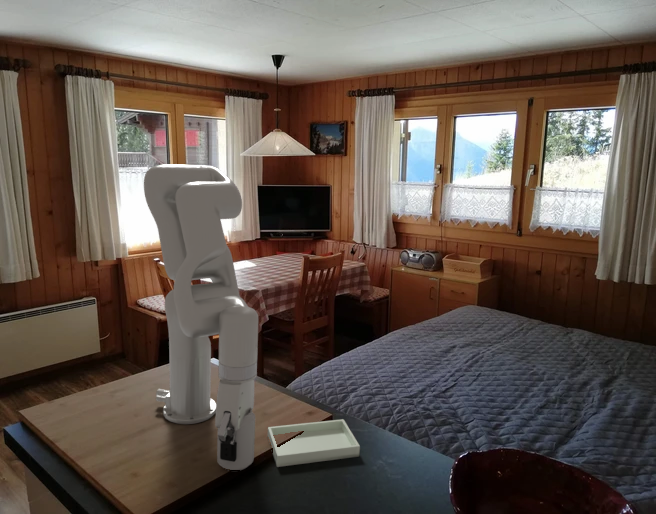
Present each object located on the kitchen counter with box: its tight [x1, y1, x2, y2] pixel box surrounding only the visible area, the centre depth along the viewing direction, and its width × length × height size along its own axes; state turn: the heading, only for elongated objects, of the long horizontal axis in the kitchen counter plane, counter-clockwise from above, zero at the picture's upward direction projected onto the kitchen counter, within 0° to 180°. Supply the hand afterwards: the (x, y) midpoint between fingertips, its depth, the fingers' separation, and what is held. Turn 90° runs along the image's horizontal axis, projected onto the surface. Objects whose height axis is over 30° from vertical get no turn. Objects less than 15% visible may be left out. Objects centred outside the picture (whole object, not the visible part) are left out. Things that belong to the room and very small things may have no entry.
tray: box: [267, 418, 361, 468], centre depth 112 cm, size 18×11×2 cm, turn 107°
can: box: [216, 408, 256, 471], centre depth 104 cm, size 8×8×12 cm
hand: (236, 447), depth 105 cm, fingers closed on can, 7 cm apart
